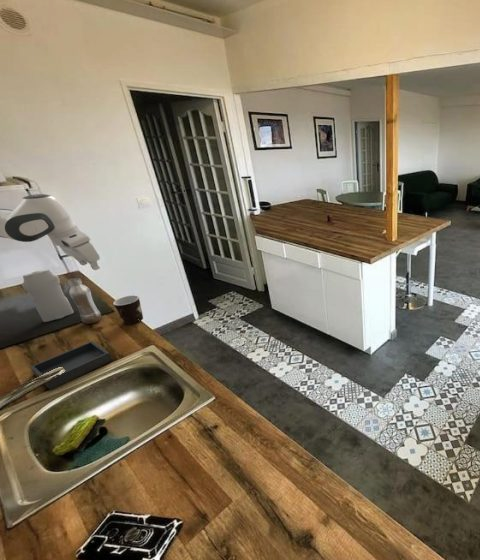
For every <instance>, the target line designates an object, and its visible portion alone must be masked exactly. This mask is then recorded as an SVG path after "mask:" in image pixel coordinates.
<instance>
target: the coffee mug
mask: <svg viewBox="0 0 480 560" xmlns="http://www.w3.org/2000/svg"><path fill="white" fill-rule="evenodd" d="M112 304H113V306H114V307H115V309H116V311H117V313H118V315H119V317H120V319H122V320H123V322H124V324H126V325H134V324H138V323H139V322H141V321H142V320H143V319H144V315H143V310H142V305H141V301H140V297H139V295H135V294H133V295H127V296H126V295H125V296H122V297H119V298H117V299H116V300H114V301H113V303H112ZM138 319H139V320H140V321H139V320H138Z"/></svg>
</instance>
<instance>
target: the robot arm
mask: <svg viewBox="0 0 480 560" xmlns="http://www.w3.org/2000/svg"><path fill="white" fill-rule="evenodd" d="M45 236H48V238H49V239H50V240H51V241H52V243H53V244H54V246H57V247H59V248H60V249H61V250H62V252H63V253H64V254H66V256H69V257H72V258H73V259H74V260H76V261H77V262H78V264H80V265H81V266H86V265H88V264H89V265H90V268H91V269H92V270H94V271H97V270H99V269H100V266H99V263H98V261H100V260H101V257H100V254H99V253H98V251H97V250H96V248H95V246H94V245H93V243H92V242H90V241H91V238H90V236H89V235H87V234H86V233H84V232H83V231H82V229H81V228H80V227H79V226H78V224H77V223H76V222H75V221H73V219H72V218H71V215H70V213H69V212H68V210H67V209H66V208H65V206H63V204H62V203H61V202H60V201H59V200H58V198H56V197H54V196H53V195H50V194H44V193H40V194H39V193H38V194H29V195H26V196H24V197H22V198H21V201H20V202H19V204H18V205H17V206H16V207H15V208H14V209H8V208H0V238H3V239H10V240H12V241H13V240H14V241H17V242H22V243H30V242H31V243H32V242H35V241H38V240H40V239H42V238H43V237H45Z"/></svg>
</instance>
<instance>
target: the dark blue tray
mask: <svg viewBox="0 0 480 560" xmlns="http://www.w3.org/2000/svg"><path fill="white" fill-rule="evenodd" d="M111 362H113V358H112V356H111V354H110V351H107V350H106V349H104V348H103V347H102V346H100V345H99V344H97V343H96V342H95V341H93V340H91V341H89V342H86V343H83V344H81V345H79V346H76V347H73V348H72V349H69V350H67V351H65V352H62V353H59V354H58V355H54V356H52V357H50V358H47V359H45V360H42V361H40V362H37V363H35V364H33V365H31V366H29V368H30V370H31V372H32V374H33V375H34V376H35V377H36V378H37V377H39V376H41V375H43V374H44V373H46V372H49V371H51V370H53V369H55V368H58V367H63V368H64V369H65V370H66V371H65V372H64V373H62V374H61V375H59V376H57V377H56V378H53V379H51V380H50V381H48V382H46V383H45V384H44V386H45V387H46V388H47V389H48V390H49V391H51V390H53V389H55V388H58V387H59V386H62V385H64V384H66V383H68V382H70V381H72V380H75V379H77V378H79V377H82V376H83V375H85V374H87V373H90V372H92V371H93V370H95V369H98V368H100V367H102V366H104V365H106V364H108V363H111Z"/></svg>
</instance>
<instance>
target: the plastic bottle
mask: <svg viewBox="0 0 480 560" xmlns="http://www.w3.org/2000/svg"><path fill="white" fill-rule="evenodd" d="M67 282H68V285H69V286H70V288H69V290H68V295H69V296H70V298H71V299H72V301H73V302H74V304H75V305H76V307H77V309H78V312H79V317H80V320H81V322H83V323H84V324H86V325H90V324H95V323H97V322H99V321H100V320H101V319H102V313H101V311H100V310H99V309H98V308H97V305H96V304H95V302H94V299H93V296H92V292H91V289H90V288H89V286H87V285H85V284H83V281H82V279H81V278H80V277H74V278H70V279H69V280H68V281H67Z"/></svg>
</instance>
